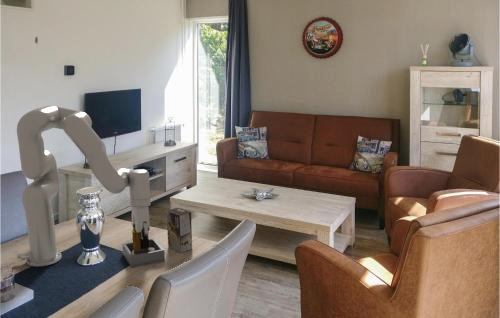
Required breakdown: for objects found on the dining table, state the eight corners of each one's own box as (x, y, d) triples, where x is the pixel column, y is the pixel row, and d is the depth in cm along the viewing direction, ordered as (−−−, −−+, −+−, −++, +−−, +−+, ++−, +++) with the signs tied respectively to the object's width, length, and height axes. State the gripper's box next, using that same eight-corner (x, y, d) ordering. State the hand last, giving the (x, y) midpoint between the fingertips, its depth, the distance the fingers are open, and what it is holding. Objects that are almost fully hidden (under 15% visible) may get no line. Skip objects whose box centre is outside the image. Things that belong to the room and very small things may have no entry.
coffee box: (193, 248, 192) (192, 212, 188) (181, 253, 187) (179, 215, 184) (179, 242, 198) (178, 207, 194) (167, 247, 193) (165, 210, 190)
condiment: (133, 248, 186) (132, 220, 183) (155, 247, 187) (153, 219, 184) (131, 256, 179) (129, 226, 176) (153, 255, 179) (152, 226, 177)
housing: (131, 267, 174) (131, 256, 174) (123, 254, 187) (122, 243, 186) (164, 260, 180) (164, 249, 179) (154, 247, 193) (153, 237, 192)
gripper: (125, 196, 184) (127, 239, 188) (136, 209, 169) (138, 254, 173) (143, 194, 188) (145, 236, 192) (156, 206, 173) (158, 251, 177)
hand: (142, 244), depth 182 cm, fingers closed on condiment, 6 cm apart
